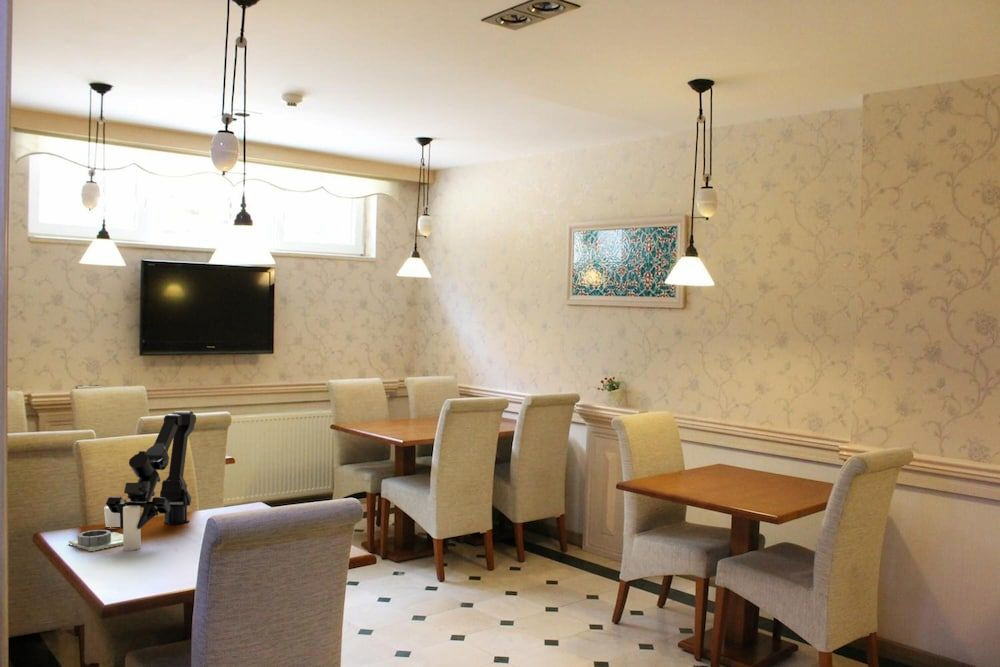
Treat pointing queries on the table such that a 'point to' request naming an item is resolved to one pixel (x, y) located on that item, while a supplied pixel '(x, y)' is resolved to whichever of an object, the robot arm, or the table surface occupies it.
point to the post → (131, 527)
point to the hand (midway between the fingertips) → (129, 528)
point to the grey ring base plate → (98, 540)
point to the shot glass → (111, 518)
